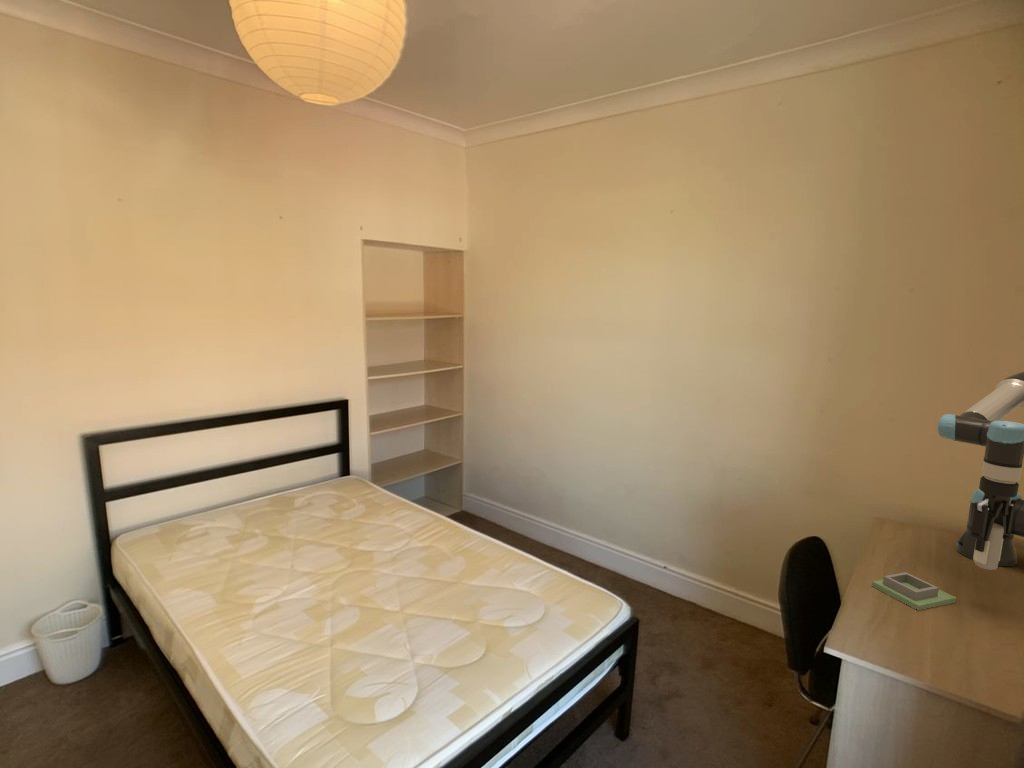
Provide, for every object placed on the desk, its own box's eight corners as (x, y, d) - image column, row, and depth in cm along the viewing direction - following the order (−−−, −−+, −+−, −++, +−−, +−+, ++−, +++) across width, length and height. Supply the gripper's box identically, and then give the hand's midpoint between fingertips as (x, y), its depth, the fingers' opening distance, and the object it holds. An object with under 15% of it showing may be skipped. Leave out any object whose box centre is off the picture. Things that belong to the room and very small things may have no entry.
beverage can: (1001, 572, 138) (1008, 530, 136) (979, 568, 140) (985, 527, 138) (991, 563, 143) (998, 522, 141) (970, 560, 144) (976, 520, 142)
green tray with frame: (907, 579, 156) (909, 566, 156) (955, 602, 144) (957, 589, 144) (871, 586, 152) (873, 573, 151) (918, 610, 140) (920, 597, 139)
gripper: (1004, 471, 144) (991, 549, 147) (961, 477, 138) (948, 558, 142) (1038, 480, 137) (1024, 562, 140) (994, 487, 131) (980, 572, 135)
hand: (986, 560), depth 141 cm, fingers closed on beverage can, 5 cm apart
